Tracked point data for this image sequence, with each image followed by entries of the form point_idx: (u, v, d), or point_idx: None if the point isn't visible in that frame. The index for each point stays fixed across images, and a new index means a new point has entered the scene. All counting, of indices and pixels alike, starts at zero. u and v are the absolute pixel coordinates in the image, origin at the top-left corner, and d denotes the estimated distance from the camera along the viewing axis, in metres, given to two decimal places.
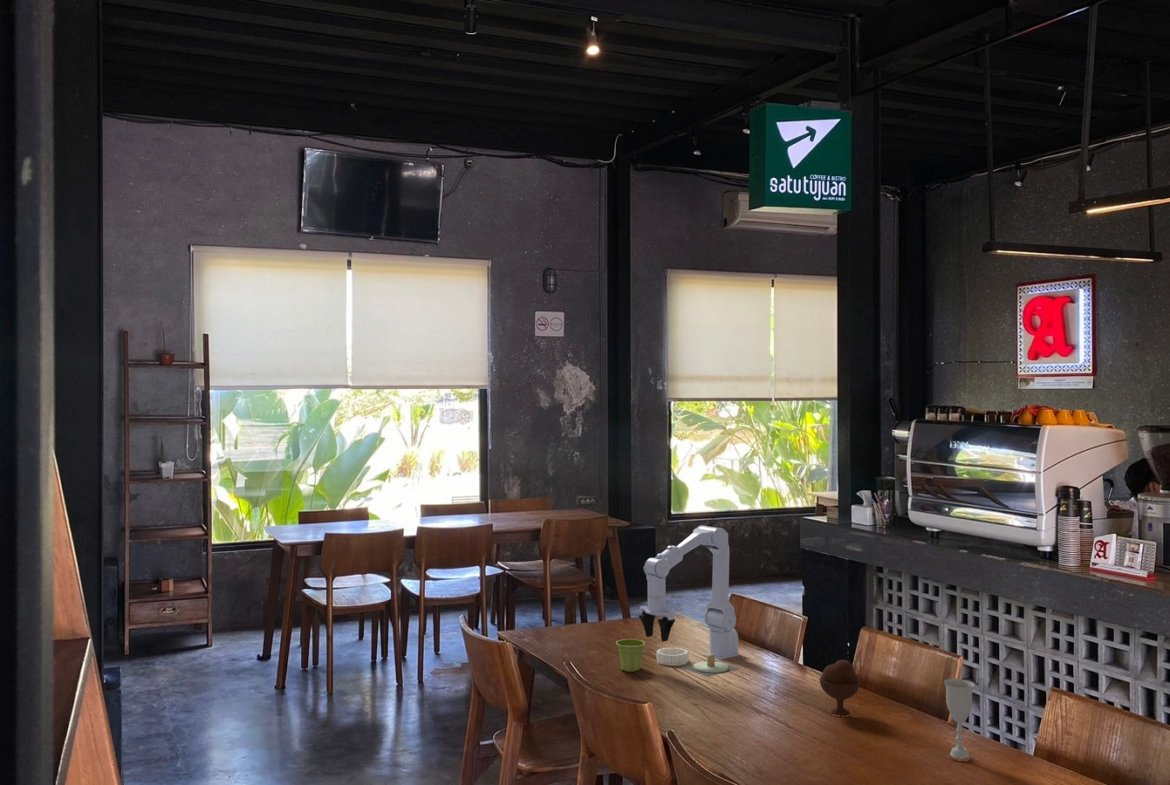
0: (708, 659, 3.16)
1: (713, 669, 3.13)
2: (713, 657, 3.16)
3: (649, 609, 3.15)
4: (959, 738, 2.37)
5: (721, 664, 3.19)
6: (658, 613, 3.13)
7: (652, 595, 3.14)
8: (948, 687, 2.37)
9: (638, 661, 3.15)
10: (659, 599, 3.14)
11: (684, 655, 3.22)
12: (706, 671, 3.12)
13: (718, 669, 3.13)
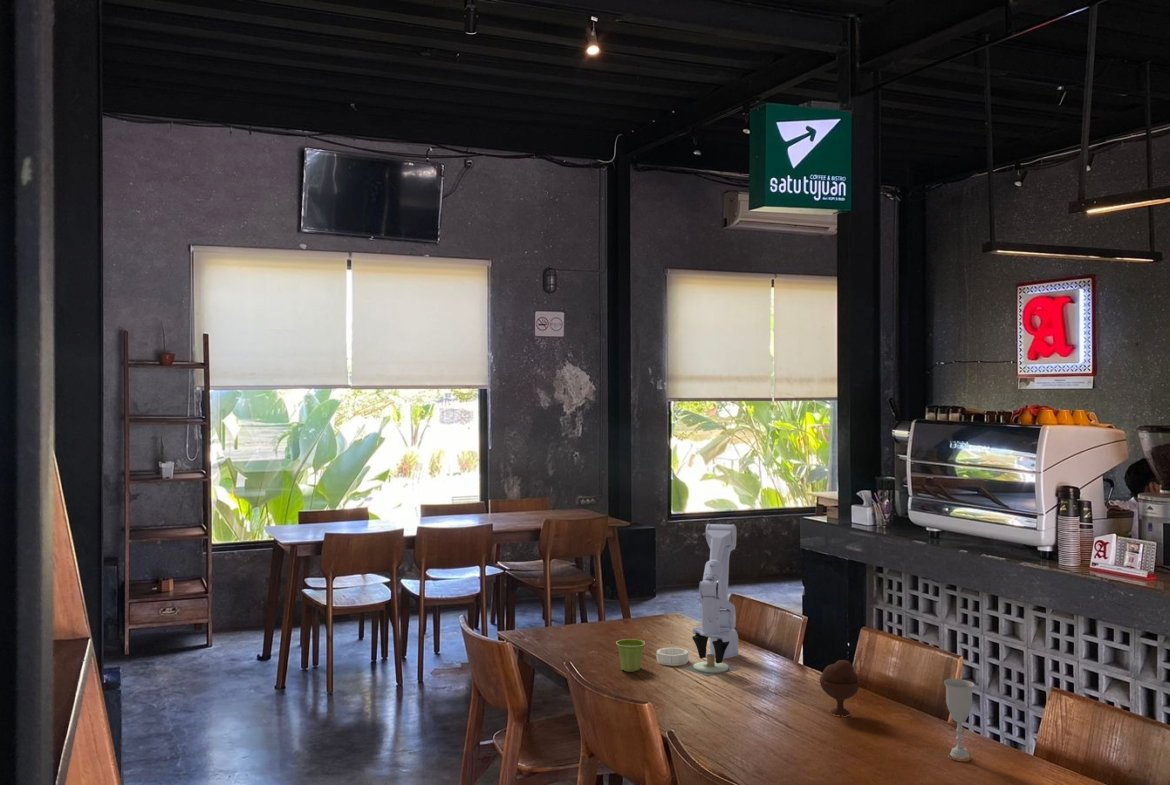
0: (708, 659, 3.16)
1: (713, 669, 3.13)
2: (713, 657, 3.16)
3: (703, 631, 3.15)
4: (959, 738, 2.37)
5: (721, 664, 3.19)
6: (713, 635, 3.13)
7: (712, 617, 3.14)
8: (948, 687, 2.37)
9: (638, 661, 3.15)
10: (713, 621, 3.14)
11: (684, 655, 3.22)
12: (706, 671, 3.12)
13: (718, 669, 3.13)
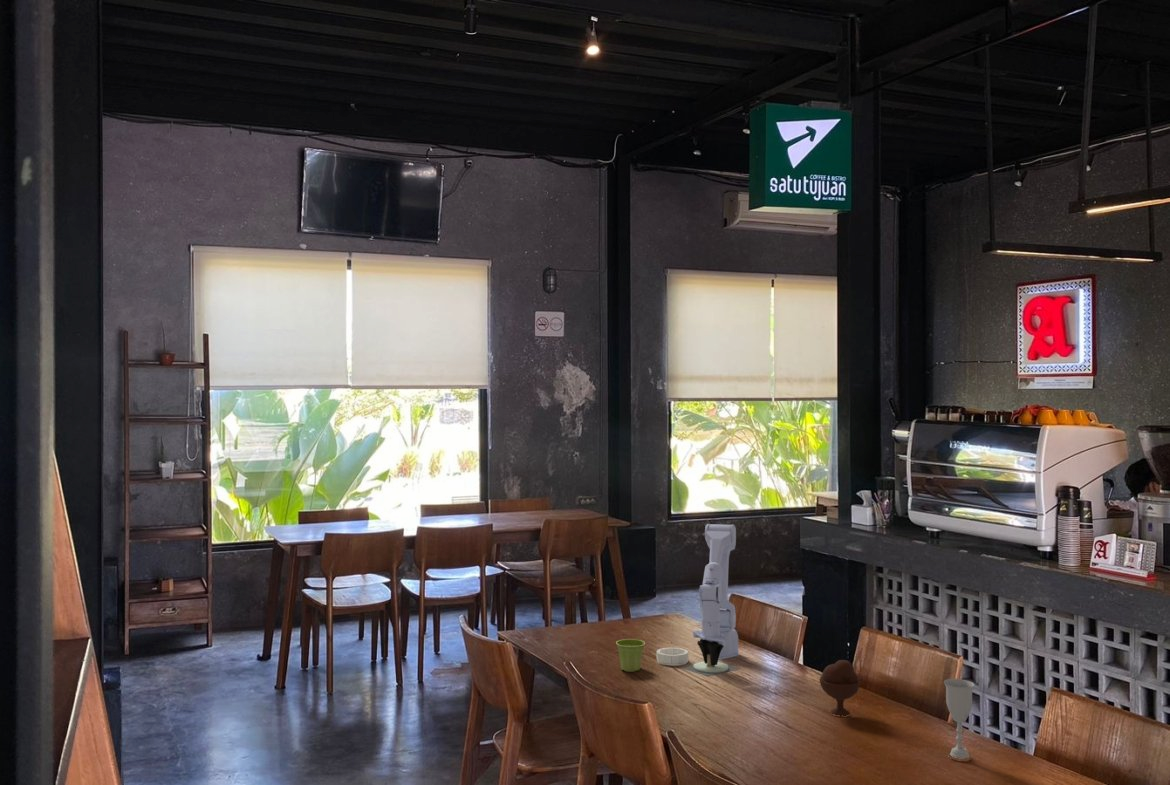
0: (708, 659, 3.16)
1: (713, 669, 3.13)
2: None
3: (703, 634, 3.16)
4: (959, 738, 2.37)
5: (721, 664, 3.19)
6: (713, 639, 3.13)
7: (712, 621, 3.14)
8: (948, 687, 2.37)
9: (638, 661, 3.15)
10: (713, 625, 3.14)
11: (684, 655, 3.22)
12: (706, 671, 3.12)
13: (718, 669, 3.13)
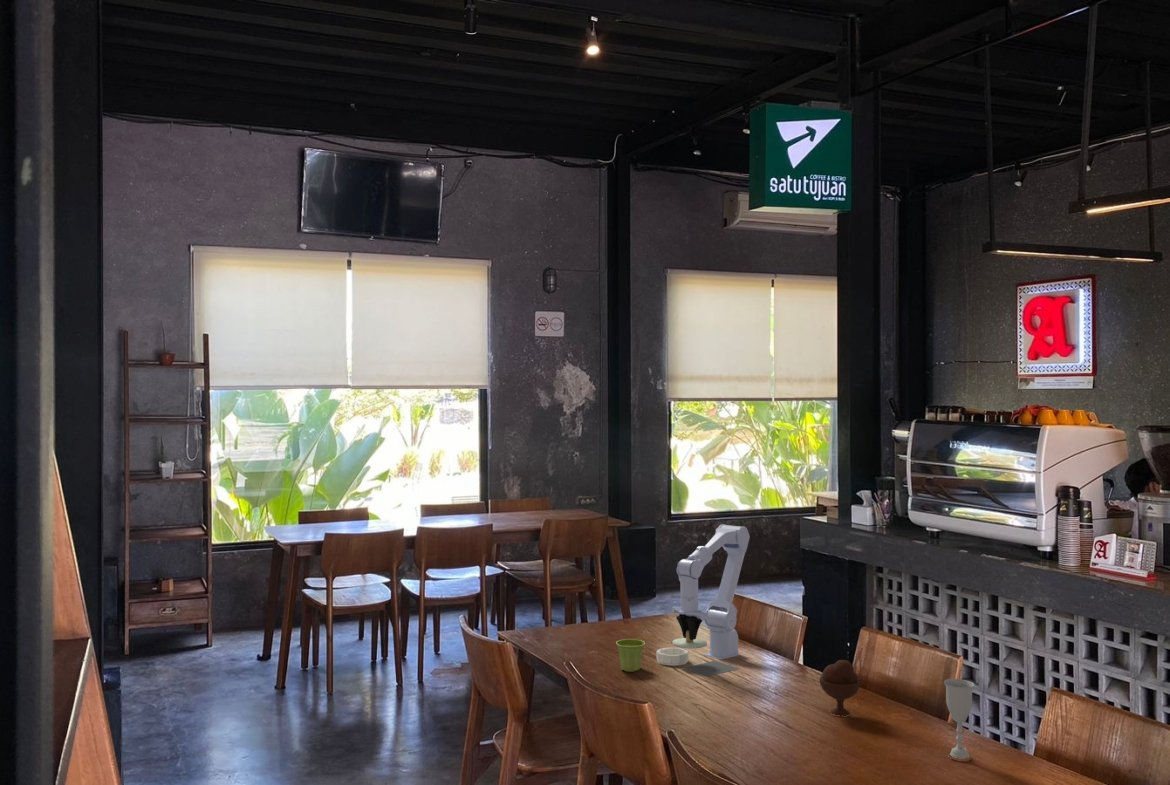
0: (687, 635, 3.21)
1: (691, 644, 3.17)
2: None
3: (682, 609, 3.20)
4: (959, 738, 2.37)
5: (700, 640, 3.23)
6: (691, 613, 3.18)
7: (686, 596, 3.19)
8: (948, 687, 2.37)
9: (638, 661, 3.15)
10: (692, 600, 3.19)
11: (684, 655, 3.22)
12: (684, 646, 3.17)
13: (696, 645, 3.17)
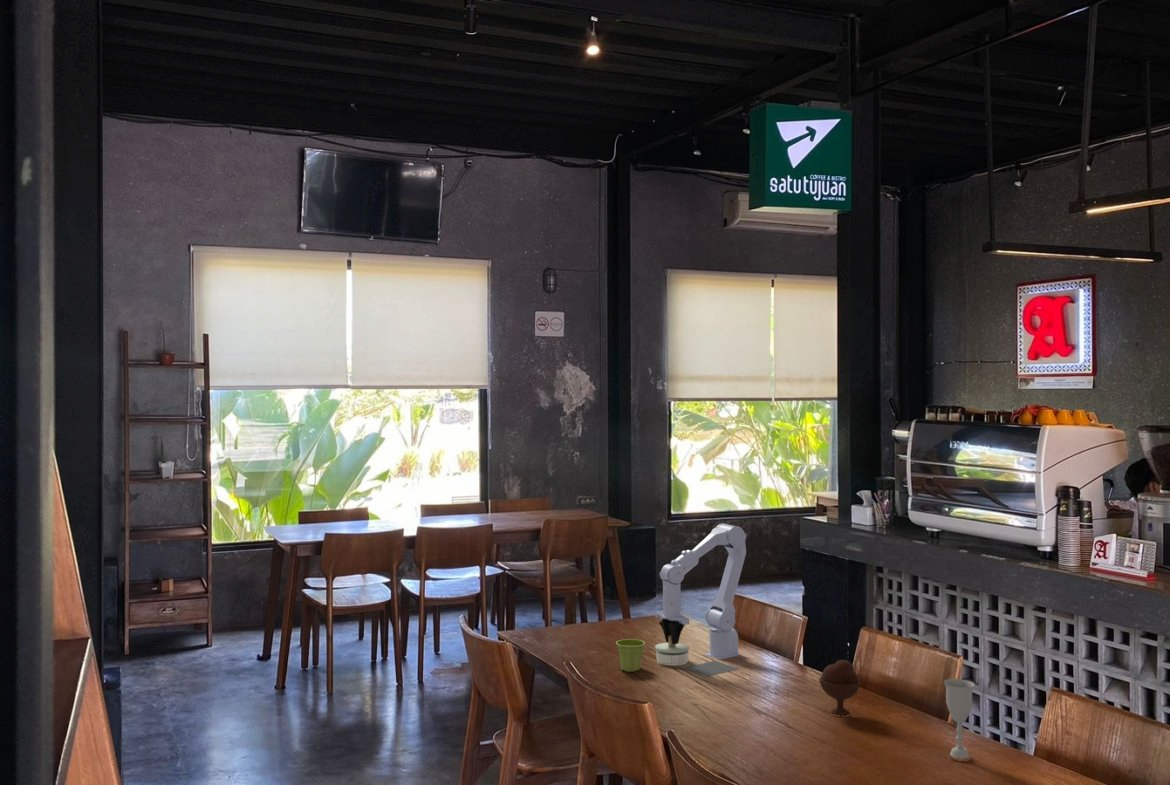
0: (669, 640, 3.25)
1: (673, 649, 3.22)
2: None
3: (664, 614, 3.24)
4: (959, 738, 2.37)
5: (682, 645, 3.27)
6: (673, 618, 3.22)
7: (666, 600, 3.24)
8: (948, 687, 2.37)
9: (638, 661, 3.15)
10: (674, 604, 3.23)
11: (684, 655, 3.22)
12: (665, 651, 3.21)
13: (678, 649, 3.21)
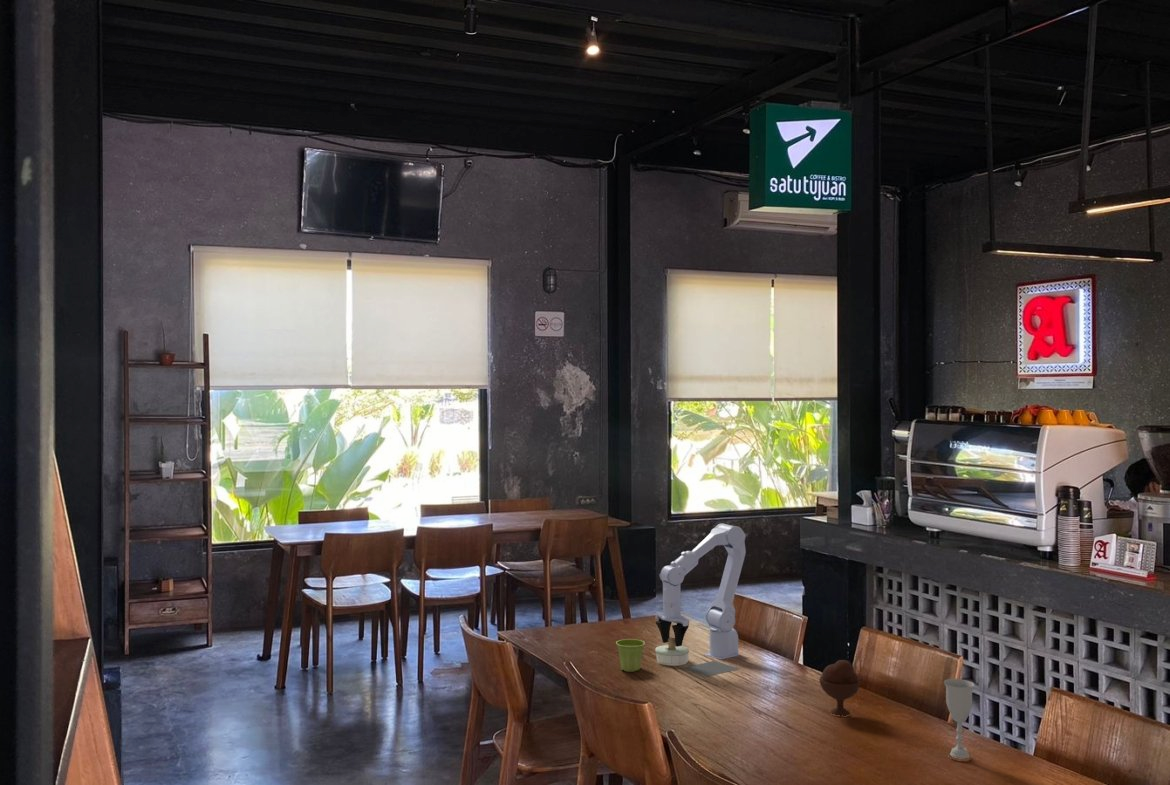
0: (669, 642, 3.25)
1: (673, 652, 3.22)
2: (674, 640, 3.25)
3: (665, 615, 3.24)
4: (959, 738, 2.37)
5: (682, 647, 3.27)
6: (673, 619, 3.22)
7: (666, 602, 3.24)
8: (948, 687, 2.37)
9: (638, 661, 3.15)
10: (674, 606, 3.23)
11: (684, 655, 3.22)
12: (666, 654, 3.21)
13: (678, 652, 3.21)
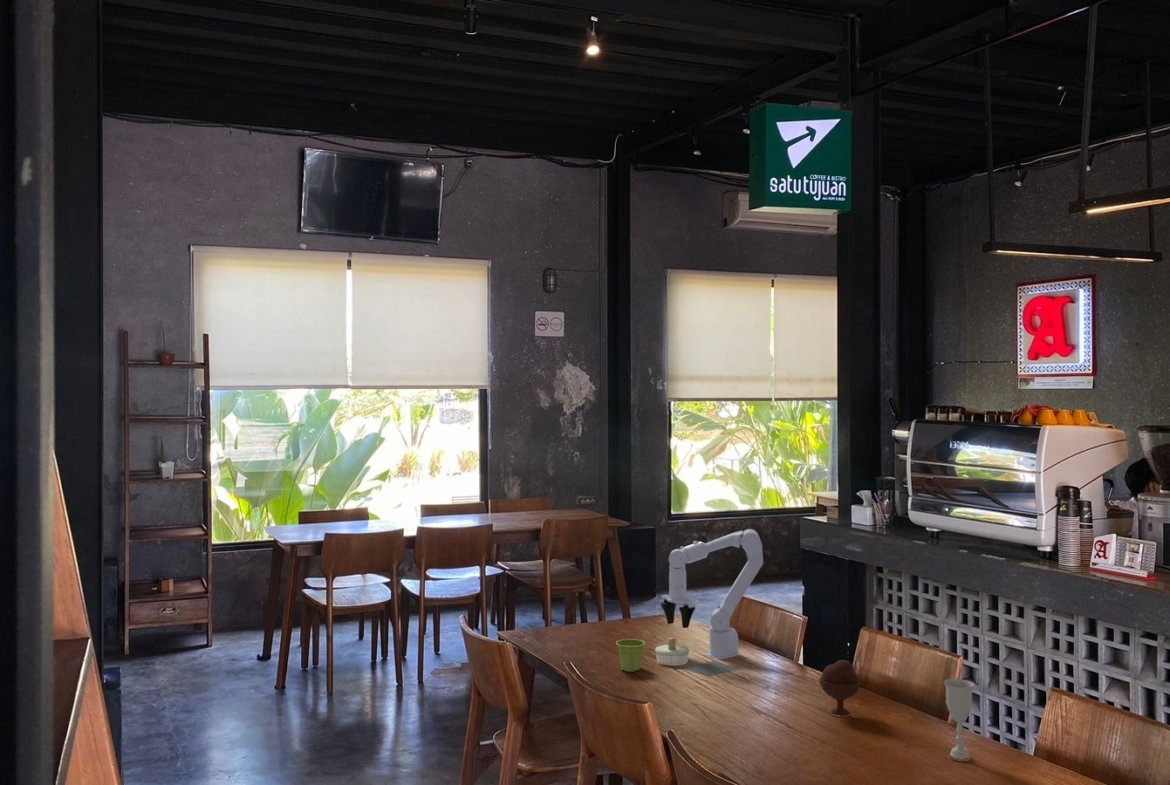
0: (669, 642, 3.25)
1: (673, 652, 3.22)
2: (674, 640, 3.25)
3: (671, 597, 3.34)
4: (959, 738, 2.37)
5: (682, 647, 3.27)
6: (679, 601, 3.32)
7: (669, 583, 3.35)
8: (948, 687, 2.37)
9: (638, 661, 3.15)
10: (680, 588, 3.33)
11: (684, 655, 3.22)
12: (666, 654, 3.21)
13: (678, 652, 3.21)
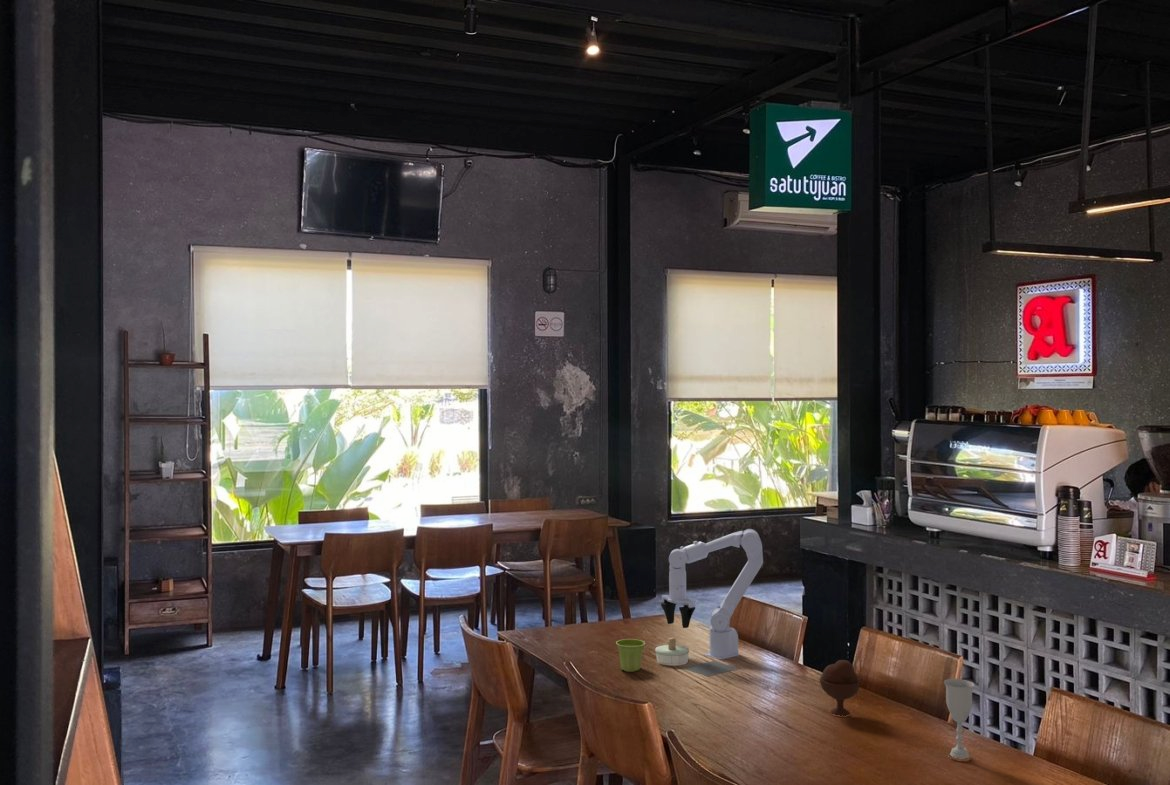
0: (669, 642, 3.25)
1: (673, 652, 3.22)
2: (674, 640, 3.25)
3: (671, 597, 3.34)
4: (959, 738, 2.37)
5: (682, 647, 3.27)
6: (679, 601, 3.32)
7: (669, 583, 3.35)
8: (948, 687, 2.37)
9: (638, 661, 3.15)
10: (680, 588, 3.33)
11: (684, 655, 3.22)
12: (666, 654, 3.21)
13: (678, 652, 3.21)
